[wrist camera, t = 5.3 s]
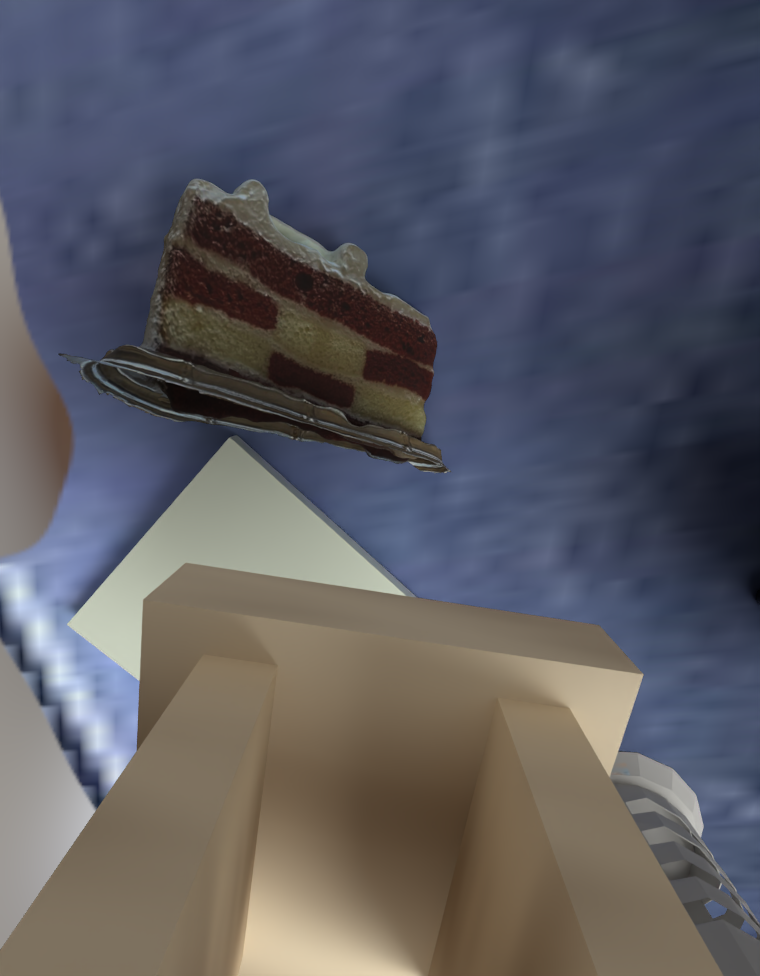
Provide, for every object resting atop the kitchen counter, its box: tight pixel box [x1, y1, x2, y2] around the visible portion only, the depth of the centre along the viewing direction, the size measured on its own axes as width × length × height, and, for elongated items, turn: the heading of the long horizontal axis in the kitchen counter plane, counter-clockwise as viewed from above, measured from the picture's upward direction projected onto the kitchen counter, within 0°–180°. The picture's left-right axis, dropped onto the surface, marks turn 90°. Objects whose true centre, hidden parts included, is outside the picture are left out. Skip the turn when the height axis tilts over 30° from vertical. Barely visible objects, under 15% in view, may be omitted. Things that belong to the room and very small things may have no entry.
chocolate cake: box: [58, 179, 451, 473], centre depth 15 cm, size 10×7×12 cm
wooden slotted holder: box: [0, 563, 723, 976], centre depth 6 cm, size 8×8×6 cm
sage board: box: [67, 435, 417, 681], centre depth 19 cm, size 14×11×1 cm
